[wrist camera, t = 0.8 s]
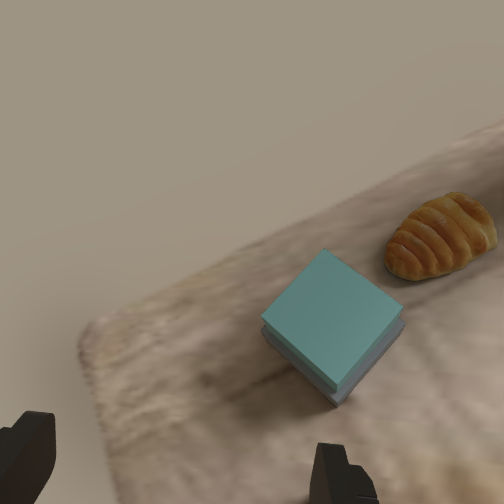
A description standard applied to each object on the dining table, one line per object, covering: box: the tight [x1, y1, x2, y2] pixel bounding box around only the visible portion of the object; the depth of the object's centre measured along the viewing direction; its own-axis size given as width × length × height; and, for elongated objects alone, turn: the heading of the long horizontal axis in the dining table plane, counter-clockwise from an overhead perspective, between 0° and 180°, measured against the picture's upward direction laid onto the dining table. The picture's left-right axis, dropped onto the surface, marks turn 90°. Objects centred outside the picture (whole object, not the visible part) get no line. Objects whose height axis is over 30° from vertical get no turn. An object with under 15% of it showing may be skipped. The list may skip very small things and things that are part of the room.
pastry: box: [384, 192, 498, 281], centre depth 37 cm, size 9×7×4 cm
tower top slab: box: [261, 248, 403, 392], centre depth 31 cm, size 7×7×4 cm
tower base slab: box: [260, 318, 406, 408], centre depth 35 cm, size 8×8×4 cm
